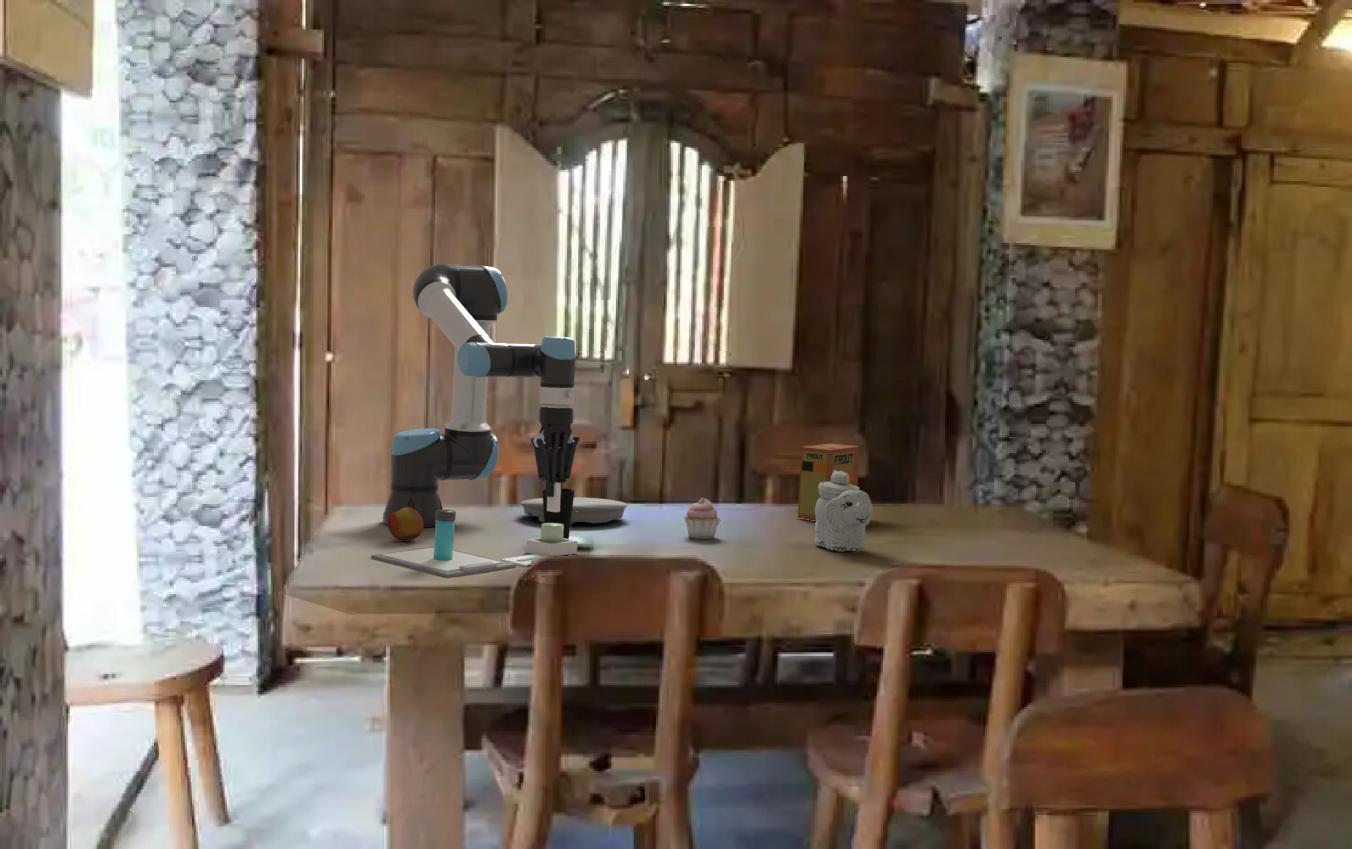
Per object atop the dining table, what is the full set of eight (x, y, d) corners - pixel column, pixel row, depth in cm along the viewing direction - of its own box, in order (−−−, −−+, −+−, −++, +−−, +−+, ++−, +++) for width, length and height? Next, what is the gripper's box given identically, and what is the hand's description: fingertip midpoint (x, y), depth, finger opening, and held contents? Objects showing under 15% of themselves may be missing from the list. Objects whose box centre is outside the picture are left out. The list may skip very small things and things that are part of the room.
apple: (409, 537, 312) (410, 503, 311) (429, 542, 306) (429, 508, 306) (381, 540, 307) (382, 505, 306) (400, 545, 301) (401, 510, 300)
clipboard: (371, 557, 285) (371, 551, 285) (438, 548, 299) (438, 543, 298) (448, 577, 268) (448, 570, 268) (515, 566, 281) (515, 560, 281)
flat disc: (647, 520, 353) (648, 504, 352) (585, 532, 329) (585, 514, 329) (563, 510, 368) (563, 494, 367) (497, 521, 344) (498, 504, 344)
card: (500, 560, 288) (500, 558, 288) (535, 555, 295) (535, 553, 295) (525, 566, 282) (525, 563, 282) (560, 561, 290) (560, 558, 290)
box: (827, 513, 378) (831, 443, 377) (855, 517, 373) (859, 446, 372) (797, 519, 365) (801, 446, 363) (826, 523, 360) (830, 450, 358)
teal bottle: (428, 557, 283) (431, 510, 282) (444, 555, 286) (447, 508, 285) (441, 561, 280) (444, 513, 279) (456, 559, 283) (460, 511, 283)
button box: (526, 552, 298) (526, 539, 298) (552, 548, 304) (552, 535, 304) (550, 558, 293) (551, 544, 293) (576, 554, 299) (577, 540, 299)
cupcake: (674, 536, 328) (676, 496, 327) (699, 533, 335) (701, 493, 334) (702, 542, 322) (704, 501, 321) (727, 538, 329) (729, 498, 328)
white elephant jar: (867, 558, 309) (871, 478, 308) (804, 552, 314) (807, 473, 312) (878, 547, 325) (882, 471, 323) (817, 541, 329) (821, 466, 328)
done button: (536, 541, 298) (536, 524, 298) (552, 538, 302) (552, 522, 302) (551, 544, 295) (552, 527, 295) (567, 541, 299) (568, 525, 298)
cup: (567, 543, 312) (569, 493, 311) (536, 541, 313) (538, 490, 312) (576, 538, 319) (578, 489, 318) (546, 536, 321) (547, 487, 320)
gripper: (546, 408, 289) (543, 515, 290) (589, 406, 298) (585, 510, 300) (523, 405, 294) (520, 511, 295) (566, 404, 303) (562, 506, 305)
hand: (553, 511), depth 298 cm, fingers closed
